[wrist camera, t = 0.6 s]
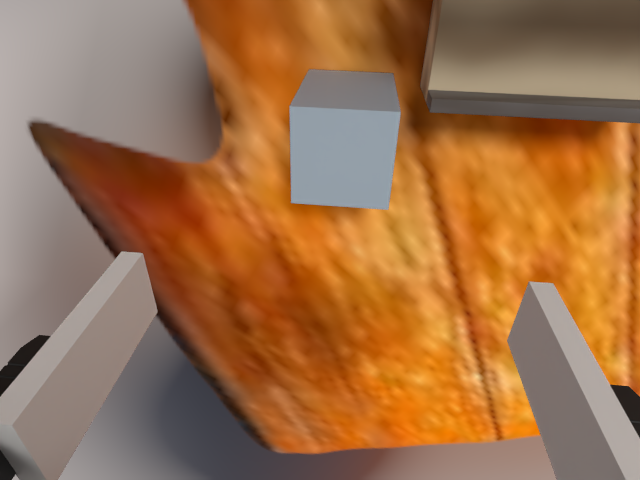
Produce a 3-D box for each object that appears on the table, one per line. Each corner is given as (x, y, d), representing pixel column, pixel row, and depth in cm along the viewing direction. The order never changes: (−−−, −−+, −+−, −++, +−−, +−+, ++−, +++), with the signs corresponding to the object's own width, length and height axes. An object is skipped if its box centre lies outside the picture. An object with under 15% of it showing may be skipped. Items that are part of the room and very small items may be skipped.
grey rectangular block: (308, 69, 31) (289, 106, 23) (393, 73, 30) (400, 111, 23) (308, 148, 34) (291, 203, 27) (384, 153, 34) (388, 209, 26)
